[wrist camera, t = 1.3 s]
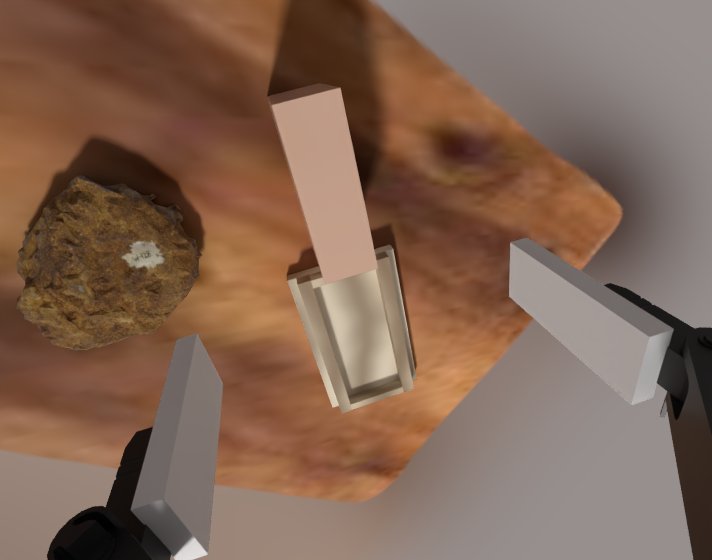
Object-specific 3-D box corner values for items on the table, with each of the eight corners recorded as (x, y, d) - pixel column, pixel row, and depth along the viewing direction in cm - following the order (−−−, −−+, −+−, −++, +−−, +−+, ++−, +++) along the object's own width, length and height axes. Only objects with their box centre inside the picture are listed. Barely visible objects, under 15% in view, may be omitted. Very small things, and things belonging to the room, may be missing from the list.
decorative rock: (143, 353, 36) (224, 224, 33) (135, 383, 33) (224, 243, 30) (-5, 306, 31) (74, 144, 27) (-34, 336, 27) (53, 156, 24)
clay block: (266, 96, 28) (271, 105, 21) (319, 82, 29) (340, 87, 22) (310, 241, 34) (325, 284, 28) (353, 228, 35) (378, 268, 28)
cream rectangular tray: (331, 401, 44) (334, 415, 42) (286, 275, 35) (288, 287, 33) (413, 373, 45) (420, 386, 43) (389, 244, 36) (397, 254, 34)
